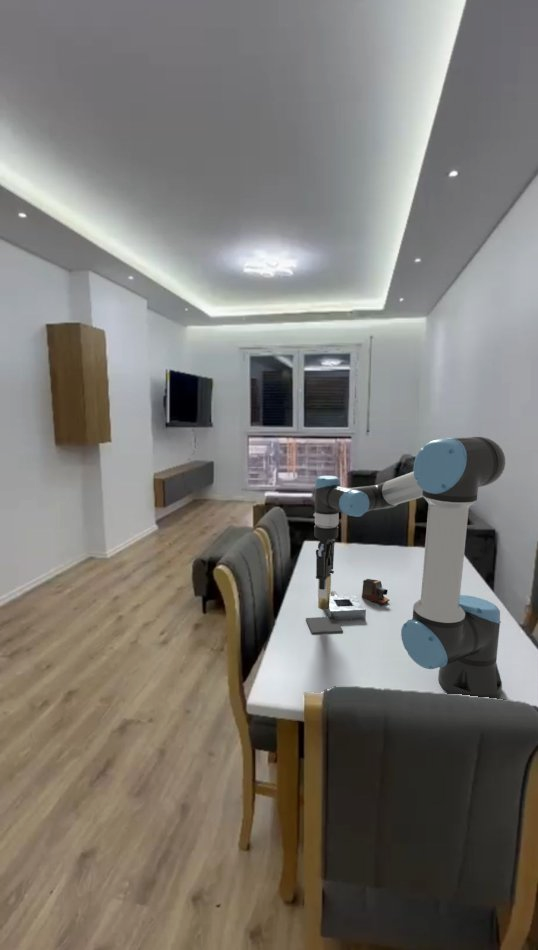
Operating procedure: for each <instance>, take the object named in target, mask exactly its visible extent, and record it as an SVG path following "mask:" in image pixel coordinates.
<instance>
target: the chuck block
mask: <svg viewBox="0 0 538 950" xmlns="http://www.w3.org/2000/svg"><path fill="white" fill-rule="evenodd" d="M324 611H325V613H326V615H327V617H330V619H337V621H338V622H341V621H360V620H361V621H362V620H366V617H367V616H366V613H367V612H366V611H367V609H366V608H365V606H364V605H363V603H362V602H361V601H360V600H359V598H358V596H357V595H355V594H348V595H338V594H337V592H336V591H335V590H331V593H330V601H329V609H326V610H324Z"/></svg>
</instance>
